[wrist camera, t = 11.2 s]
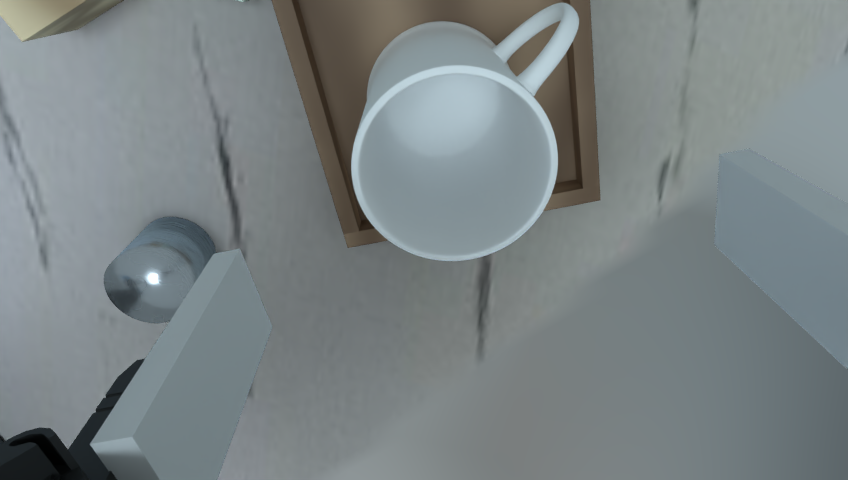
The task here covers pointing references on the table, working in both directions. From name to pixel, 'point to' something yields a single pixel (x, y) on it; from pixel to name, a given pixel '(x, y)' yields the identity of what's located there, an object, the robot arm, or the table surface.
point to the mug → (458, 138)
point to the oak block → (50, 15)
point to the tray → (382, 22)
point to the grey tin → (158, 269)
